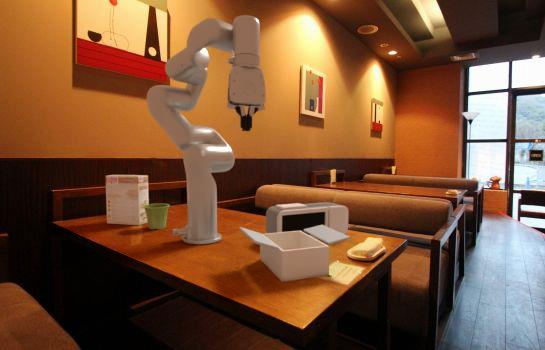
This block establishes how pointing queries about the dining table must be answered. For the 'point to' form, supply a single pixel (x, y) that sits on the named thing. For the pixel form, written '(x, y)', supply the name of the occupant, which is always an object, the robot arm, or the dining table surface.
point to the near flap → (258, 238)
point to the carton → (295, 256)
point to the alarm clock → (306, 217)
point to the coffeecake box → (126, 199)
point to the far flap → (327, 234)
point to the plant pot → (156, 215)
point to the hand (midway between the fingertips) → (246, 130)
